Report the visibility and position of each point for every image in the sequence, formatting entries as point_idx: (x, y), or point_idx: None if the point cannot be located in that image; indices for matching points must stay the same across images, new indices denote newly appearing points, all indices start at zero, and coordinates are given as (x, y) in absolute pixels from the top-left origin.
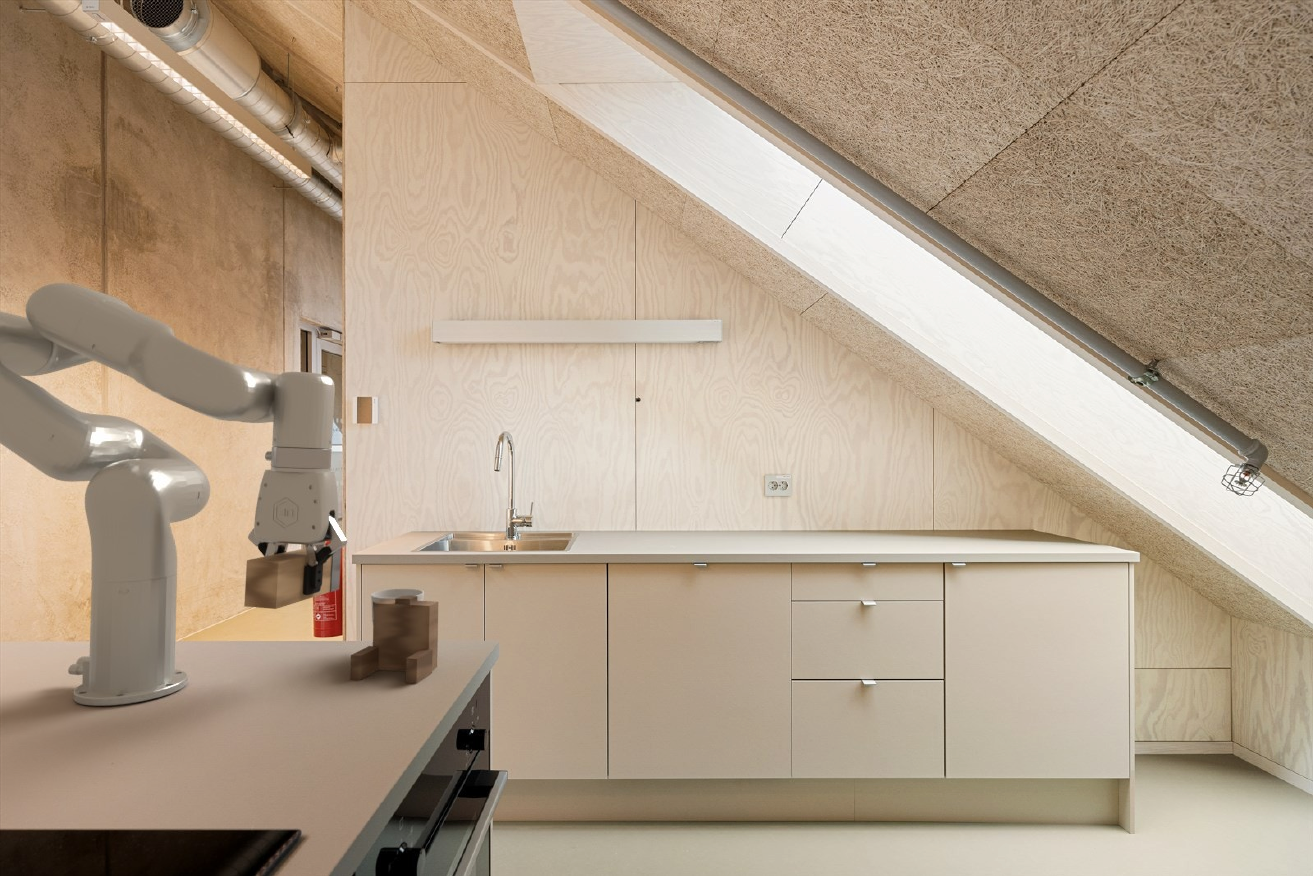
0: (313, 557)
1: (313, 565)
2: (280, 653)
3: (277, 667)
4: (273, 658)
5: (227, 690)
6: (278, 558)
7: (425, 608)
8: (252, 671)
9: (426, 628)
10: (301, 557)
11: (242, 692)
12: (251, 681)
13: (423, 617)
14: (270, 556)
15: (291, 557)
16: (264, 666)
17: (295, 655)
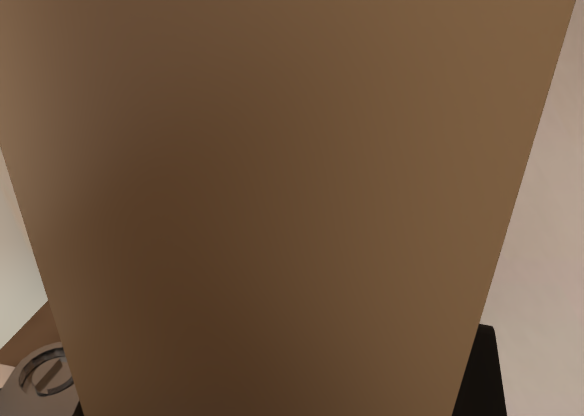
0: (16, 402)
1: (57, 343)
2: (561, 382)
3: (511, 277)
4: (562, 346)
5: (573, 72)
6: (209, 290)
7: (8, 357)
8: (573, 245)
9: (46, 312)
10: (74, 382)
11: None
12: (531, 160)
13: (33, 337)
14: (393, 402)
15: (146, 370)
16: (556, 285)
17: (508, 365)
